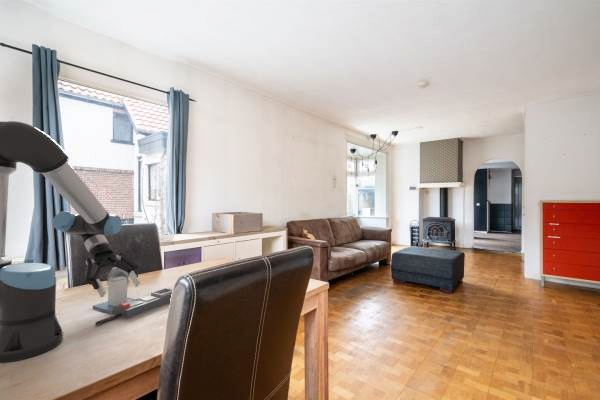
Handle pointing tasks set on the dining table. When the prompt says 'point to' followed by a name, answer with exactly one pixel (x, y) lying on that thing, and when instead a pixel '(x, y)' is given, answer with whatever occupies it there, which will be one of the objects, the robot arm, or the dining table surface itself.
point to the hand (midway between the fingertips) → (121, 289)
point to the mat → (107, 306)
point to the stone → (117, 273)
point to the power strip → (140, 305)
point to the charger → (117, 290)
